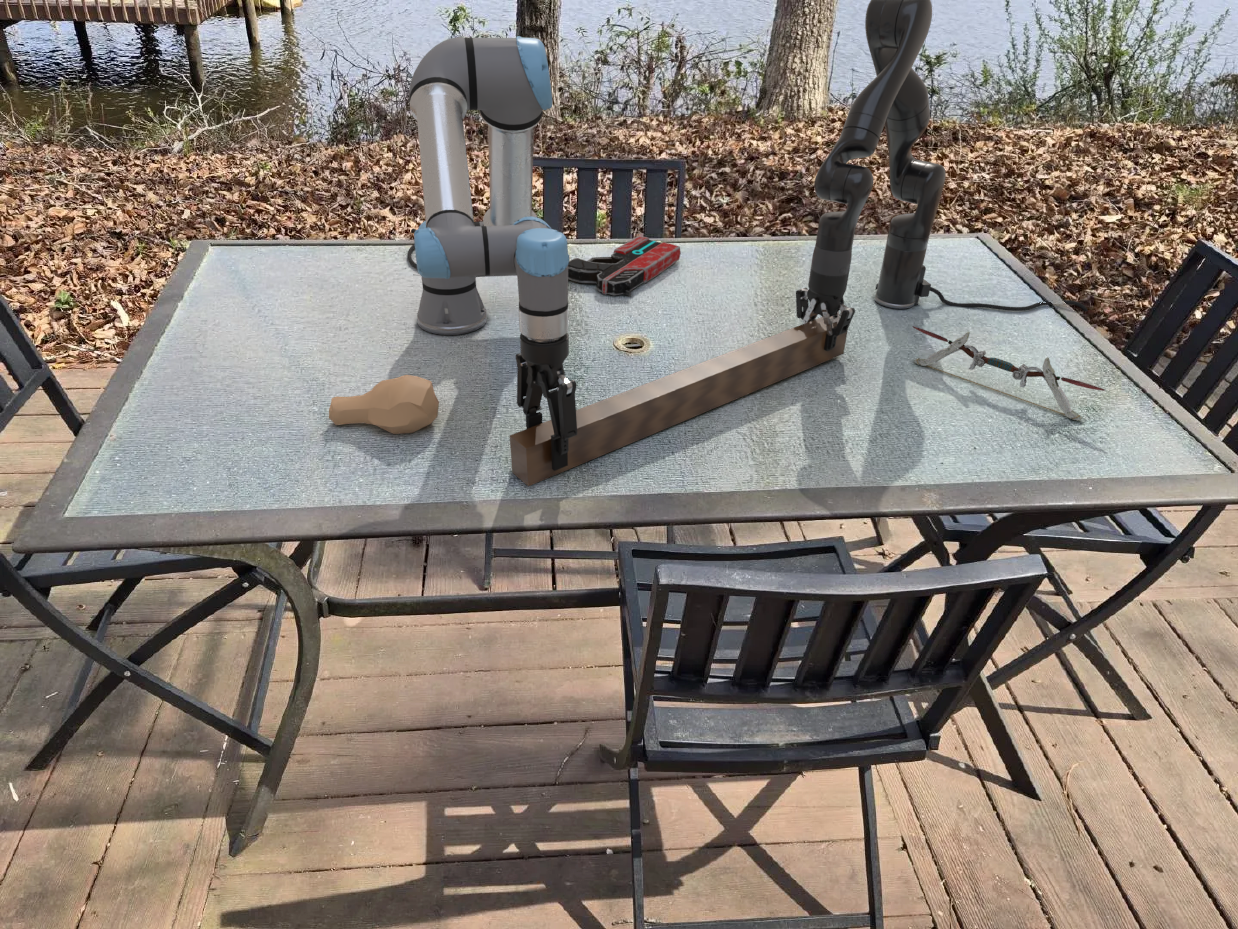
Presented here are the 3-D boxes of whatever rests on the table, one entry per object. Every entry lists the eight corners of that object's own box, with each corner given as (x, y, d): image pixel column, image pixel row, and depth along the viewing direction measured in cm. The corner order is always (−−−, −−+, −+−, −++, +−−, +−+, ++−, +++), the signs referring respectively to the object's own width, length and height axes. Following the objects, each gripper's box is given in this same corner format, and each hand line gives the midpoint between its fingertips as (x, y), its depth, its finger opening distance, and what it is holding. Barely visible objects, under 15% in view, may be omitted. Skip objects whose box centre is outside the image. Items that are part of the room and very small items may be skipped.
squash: (439, 440, 156) (426, 401, 150) (330, 449, 157) (313, 410, 151) (448, 401, 164) (436, 363, 157) (344, 410, 165) (328, 372, 159)
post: (528, 486, 145) (526, 448, 140) (512, 472, 148) (509, 435, 144) (843, 353, 186) (849, 321, 181) (825, 345, 189) (830, 313, 185)
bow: (1094, 423, 166) (1111, 376, 160) (1090, 426, 165) (1108, 379, 159) (907, 357, 187) (917, 313, 182) (903, 359, 186) (913, 316, 181)
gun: (556, 265, 215) (624, 284, 207) (621, 228, 237) (685, 244, 229) (556, 282, 217) (623, 301, 209) (620, 244, 239) (683, 260, 231)
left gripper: (602, 349, 130) (600, 476, 143) (529, 305, 143) (533, 426, 156) (560, 362, 127) (562, 492, 139) (490, 316, 139) (497, 439, 152)
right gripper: (871, 274, 170) (856, 352, 180) (815, 252, 180) (804, 328, 189) (846, 283, 166) (832, 362, 176) (790, 260, 176) (780, 337, 185)
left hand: (547, 457), depth 148 cm, fingers open, 7 cm apart
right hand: (817, 344), depth 182 cm, fingers closed on post, 5 cm apart
